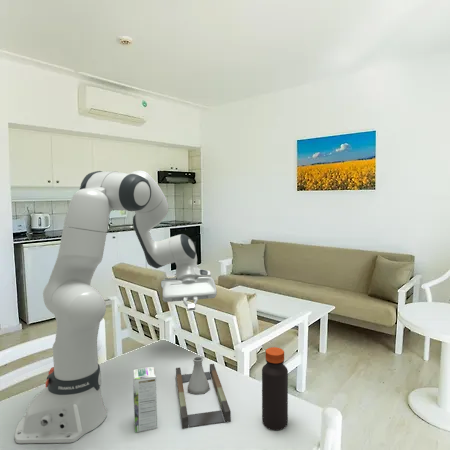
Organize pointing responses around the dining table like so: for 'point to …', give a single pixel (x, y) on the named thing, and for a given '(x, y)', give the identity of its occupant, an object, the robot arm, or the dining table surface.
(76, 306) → the robot arm
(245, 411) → the dining table surface
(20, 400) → the dining table surface
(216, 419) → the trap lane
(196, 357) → the flask
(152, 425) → the syrup box
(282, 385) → the bottle
